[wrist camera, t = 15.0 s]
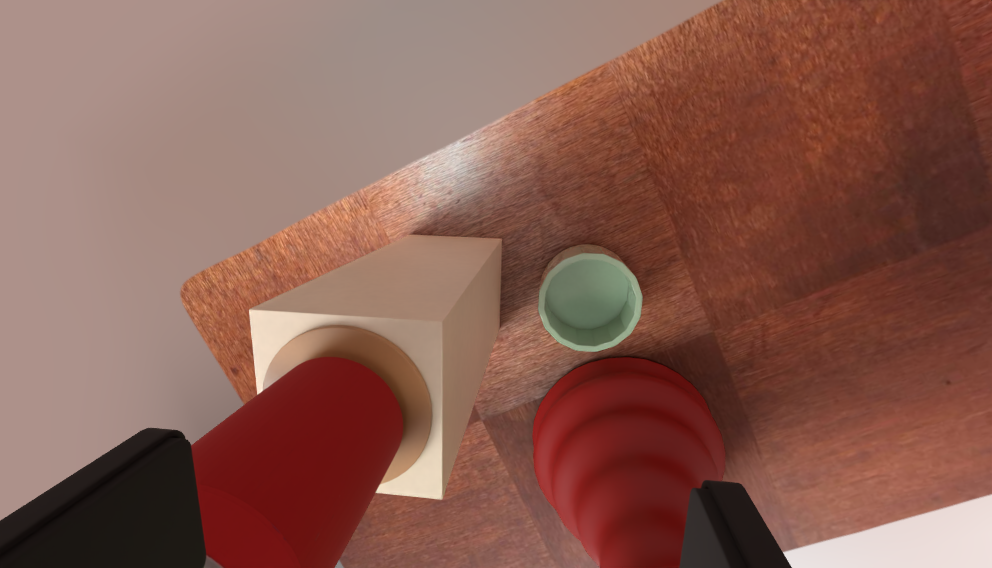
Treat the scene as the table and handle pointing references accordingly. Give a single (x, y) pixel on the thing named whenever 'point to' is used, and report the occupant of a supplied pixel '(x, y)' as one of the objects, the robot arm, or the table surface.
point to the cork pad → (380, 360)
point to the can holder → (589, 298)
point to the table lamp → (625, 458)
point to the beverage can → (296, 467)
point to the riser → (407, 329)
